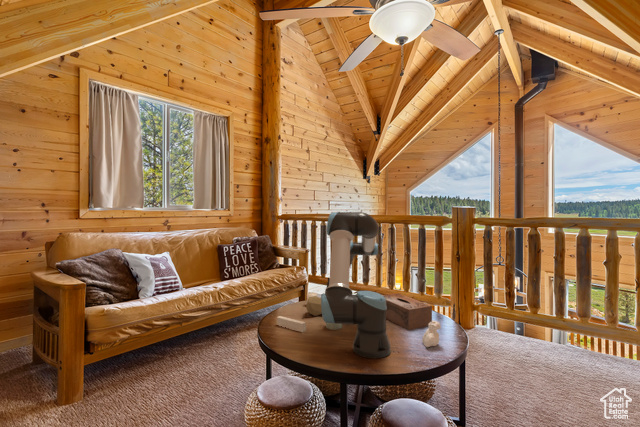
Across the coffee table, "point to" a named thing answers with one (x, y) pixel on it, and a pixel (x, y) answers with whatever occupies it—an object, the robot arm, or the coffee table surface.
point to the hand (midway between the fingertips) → (326, 304)
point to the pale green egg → (333, 326)
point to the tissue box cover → (407, 311)
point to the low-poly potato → (314, 305)
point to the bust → (431, 334)
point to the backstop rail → (291, 324)
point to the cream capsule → (311, 295)
